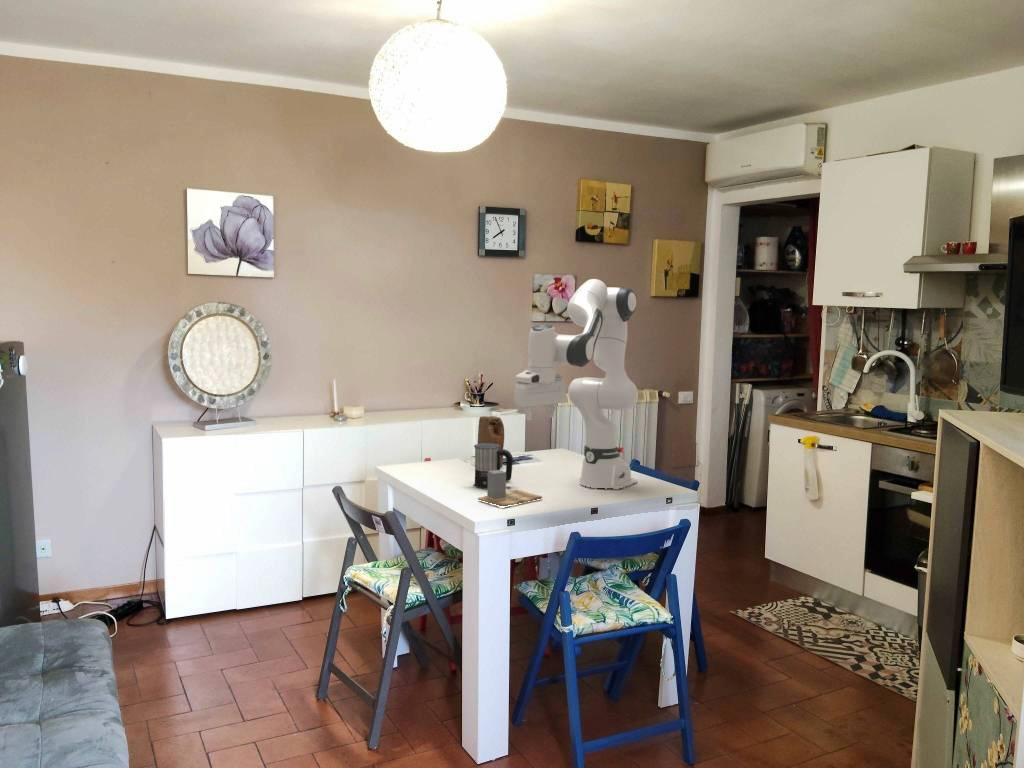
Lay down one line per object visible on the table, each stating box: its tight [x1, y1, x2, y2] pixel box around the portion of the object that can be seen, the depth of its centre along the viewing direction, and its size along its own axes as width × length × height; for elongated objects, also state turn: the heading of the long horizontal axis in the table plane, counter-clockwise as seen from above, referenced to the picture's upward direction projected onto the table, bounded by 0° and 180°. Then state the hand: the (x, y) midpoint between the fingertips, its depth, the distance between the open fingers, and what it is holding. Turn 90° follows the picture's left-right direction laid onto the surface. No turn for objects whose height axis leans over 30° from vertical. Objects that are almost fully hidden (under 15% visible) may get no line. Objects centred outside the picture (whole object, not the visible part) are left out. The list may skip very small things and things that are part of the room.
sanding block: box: [486, 469, 507, 501], centre depth 270 cm, size 4×4×9 cm
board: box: [477, 489, 543, 506], centre depth 273 cm, size 18×12×1 cm, turn 134°
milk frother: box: [473, 443, 514, 489], centre depth 296 cm, size 14×16×15 cm
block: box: [477, 415, 505, 468], centre depth 325 cm, size 11×8×20 cm
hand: (540, 418), depth 262 cm, fingers open, 8 cm apart
